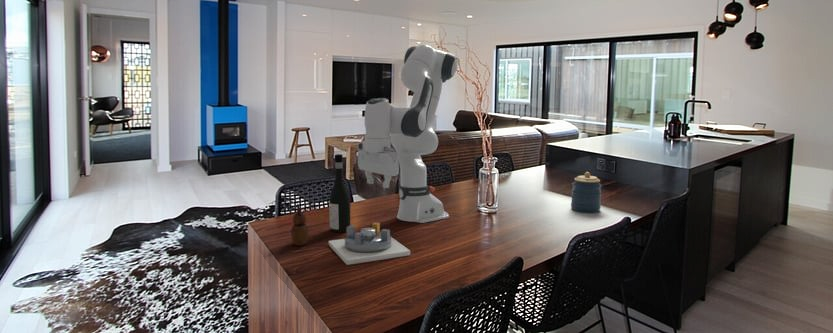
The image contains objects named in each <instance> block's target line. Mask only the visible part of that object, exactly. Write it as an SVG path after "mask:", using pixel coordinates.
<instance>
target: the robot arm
mask: <svg viewBox="0 0 833 333" xmlns="http://www.w3.org/2000/svg"><path fill="white" fill-rule="evenodd" d="M403 63H404V64H403V66H402V69H401V71H400V80H401V82H402V84H403V85H404V87H406V88H407V89H408V90H410V91H411V92H412V93H413V95H412V98H411V102H410V105H409V107H394V106H393V105H391V104H390V102H389V99H388V98H385V97H377V98H371V99H369V100H367V101H366V104H365V110H364V127H365V134H364V140H362V141H359V142H358V143H357V144H356V148H357V150H358V151H357V166H358V169H359V170H361V171H364V174H365V177H366V180H367V181H366V184H369V185H373V184H374V180H375V178H373V174H379V175H382V176H383V178H384V181H383V182H382V188H384V189H389V188H390V182H391V180H392V177H396V176H398V175H399V172H400V185H399V192H398V193H399V207H398V212H397V215H396V218H397V219H398V220H399V221H404V222H410V223H420V224H424V223H429V222H434V221H439V220H444V219H448V218H450V215H449V213H448V212H447V211H445V210H444V205H443V202H442V201H441V200H440V199H438V198H437V197H436V196H434V195H433V194H432V192H434V191H435V187H434V186H429V185H427V177H428V176H427V174H428V173H427V166H426V164H425V163H424V162H423V159H422V156H424V155H426V156H427V155H430V154H433V153H434V152H435V151H436V150H437V148H438V146H439V137H438V135H437V133H436V130H435V117H436V113H437V109H438V105H439V103H440V102H439V101H440V99H441V94H442V88H443V84H444V83H446V82H447V81H449V80H450V79H452V78H453V77H454V76H455V74H456V72H457V69H458V58H457V57H456V55H455V54H453V53H452V52H448V51H447V52H446V51H443V50H439V49H436V48H433V47H432V46H430V45H429V44H420V45H418V46H416V45H415V46H411V47H409V48H407V50H406V51H405V55H404V58H403ZM391 145H392V146H393V147H391Z"/></svg>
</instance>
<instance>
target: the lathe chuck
mask: <svg viewBox="0 0 833 333" xmlns="http://www.w3.org/2000/svg"><path fill="white" fill-rule="evenodd" d="M380 229H381V223H380V222H376V221H375V222H372V224H371V227H364V228H363V227H362V228H360V232H359V231H358V232H356V225H351V224H350V225H349V226H347V231H346V236H345V237H344V239H345V248H346V249H348V250H350V251H353V252H359V253H373V252H380V251H384V250H386V249H388V248H390V247H391V237H392V236H391V234H390V233H391V230H390V229H386V228H382V229H381V230H380Z"/></svg>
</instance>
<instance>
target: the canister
mask: <svg viewBox="0 0 833 333" xmlns="http://www.w3.org/2000/svg"><path fill="white" fill-rule="evenodd" d="M600 182H601V179H599V178H598V177H597V176H594V175H591V173H590V172H589V171H586V172H584V175H578V176H576V177H574V182H572V183H571V185H572V190H571V203H570V208H571V210H572V211H575V212H579V213H587V214H590V213H592V214H595V213H598V212H600V211H601V208H602V207H601V205H602V204H601V199H602V191H601V188H602V186H603V185H602V184H601V183H600Z"/></svg>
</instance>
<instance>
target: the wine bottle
mask: <svg viewBox="0 0 833 333" xmlns="http://www.w3.org/2000/svg"><path fill="white" fill-rule="evenodd" d="M343 157H344V156H343V154H341V153H339V154H338V153H337V154H334V166H335V168H334V170H335V171H334V172H335V179H334V183H333V187H332V189H331V191H330V194H329V200H328V206H329V207H328V209H329V212H328V214H329V230H330V231H332V232H333V233H347V226H349V225H350V226H351V200H350V195H349V193H348V192H349V191H348V189H347V187H346V185H345V182H344V177H343V159H344V158H343Z"/></svg>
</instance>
